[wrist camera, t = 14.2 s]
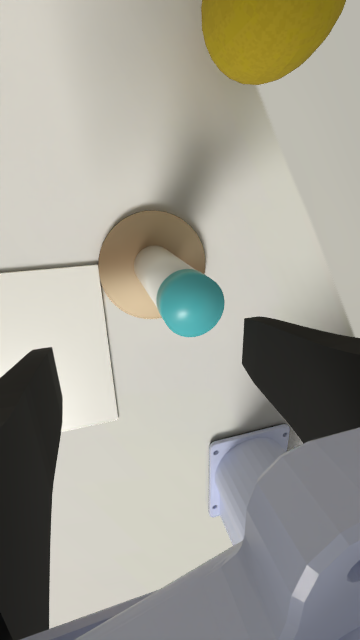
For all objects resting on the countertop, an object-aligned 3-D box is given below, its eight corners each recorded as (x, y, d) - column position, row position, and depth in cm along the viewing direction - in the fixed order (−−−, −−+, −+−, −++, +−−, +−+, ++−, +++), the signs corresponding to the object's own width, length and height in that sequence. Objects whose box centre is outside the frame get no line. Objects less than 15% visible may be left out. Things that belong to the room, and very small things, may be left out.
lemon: (203, -54, 15) (309, -267, 8) (289, 13, 17) (434, -110, 10) (166, 71, 17) (229, -17, 10) (250, 120, 19) (353, 76, 12)
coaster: (203, 310, 23) (205, 311, 22) (105, 323, 21) (105, 325, 21) (203, 208, 20) (205, 208, 20) (90, 213, 18) (91, 213, 18)
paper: (118, 418, 24) (118, 419, 24) (-12, 445, 22) (-13, 447, 22) (97, 264, 19) (97, 265, 19) (-71, 278, 17) (-72, 279, 17)
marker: (175, 284, 21) (223, 332, 14) (135, 288, 20) (164, 341, 13) (173, 243, 20) (225, 272, 13) (131, 246, 19) (160, 278, 12)
